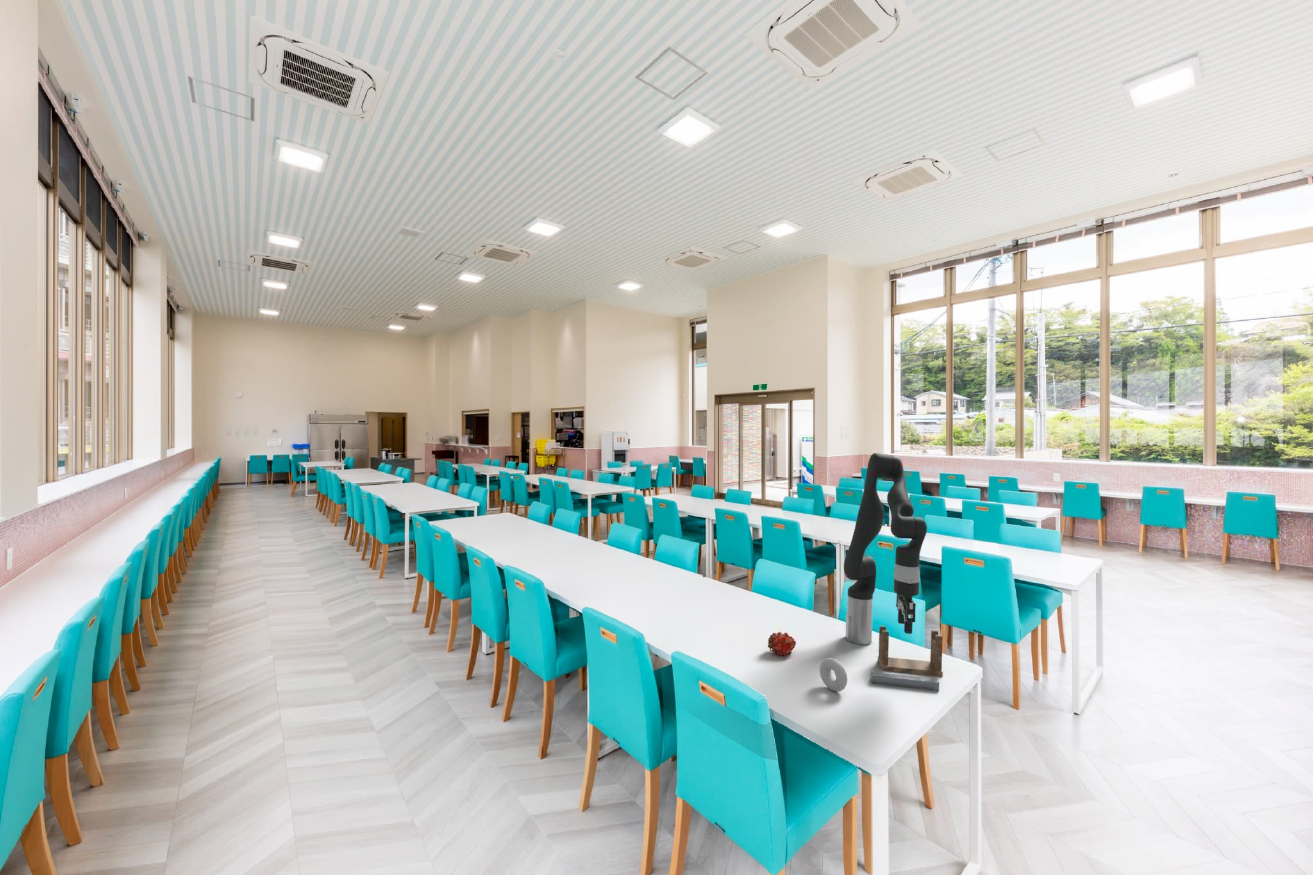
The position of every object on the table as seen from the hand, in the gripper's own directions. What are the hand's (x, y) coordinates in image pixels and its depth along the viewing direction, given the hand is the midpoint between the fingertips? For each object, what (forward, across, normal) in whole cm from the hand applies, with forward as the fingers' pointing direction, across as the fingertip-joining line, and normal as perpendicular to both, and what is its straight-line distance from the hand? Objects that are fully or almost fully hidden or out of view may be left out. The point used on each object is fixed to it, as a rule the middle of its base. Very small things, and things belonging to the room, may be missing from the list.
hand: (904, 628), depth 173 cm
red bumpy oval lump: (+19, -16, -38) cm, 45 cm away
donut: (+19, +9, -23) cm, 31 cm away
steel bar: (+19, 0, 0) cm, 19 cm away
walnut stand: (+19, -14, +5) cm, 24 cm away
